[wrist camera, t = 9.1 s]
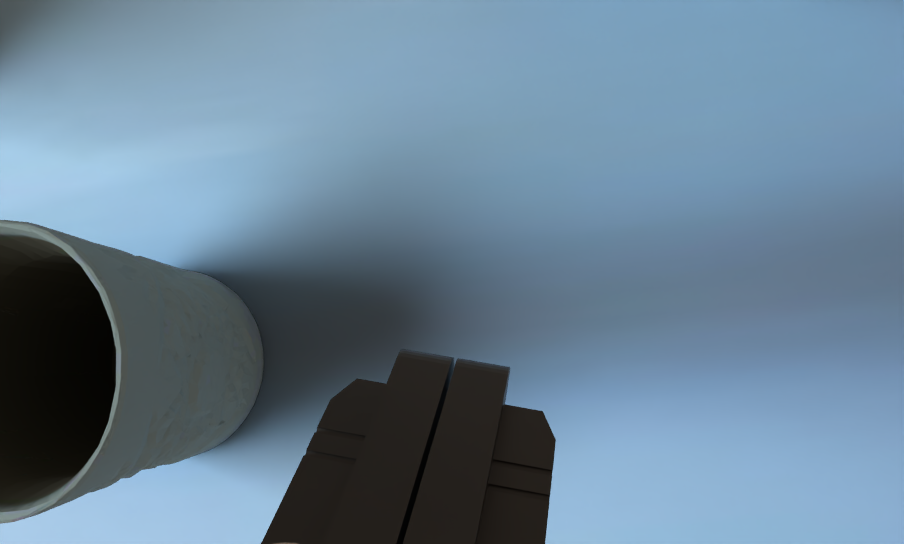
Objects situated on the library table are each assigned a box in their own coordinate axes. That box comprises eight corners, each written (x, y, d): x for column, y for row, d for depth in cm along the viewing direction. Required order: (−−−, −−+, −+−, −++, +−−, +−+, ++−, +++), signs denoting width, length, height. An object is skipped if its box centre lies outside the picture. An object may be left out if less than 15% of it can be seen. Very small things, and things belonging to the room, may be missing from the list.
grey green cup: (56, 342, 41) (-183, 344, 30) (205, 207, 40) (13, 154, 28) (167, 515, 39) (-46, 589, 28) (328, 379, 38) (175, 397, 26)
